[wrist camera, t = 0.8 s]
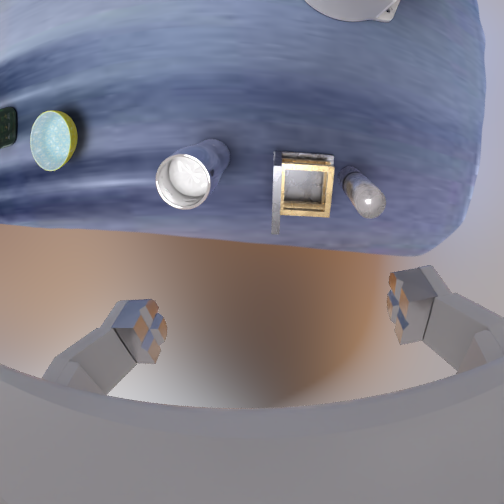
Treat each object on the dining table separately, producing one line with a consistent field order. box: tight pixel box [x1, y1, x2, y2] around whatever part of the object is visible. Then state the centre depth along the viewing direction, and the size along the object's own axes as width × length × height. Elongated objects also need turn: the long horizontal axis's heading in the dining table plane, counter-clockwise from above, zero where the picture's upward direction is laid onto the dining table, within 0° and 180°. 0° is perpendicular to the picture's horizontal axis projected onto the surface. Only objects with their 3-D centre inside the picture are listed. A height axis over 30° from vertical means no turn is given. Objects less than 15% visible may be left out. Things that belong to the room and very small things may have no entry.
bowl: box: [30, 111, 77, 171], centre depth 39 cm, size 11×12×6 cm
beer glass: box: [156, 139, 230, 210], centre depth 36 cm, size 7×7×15 cm
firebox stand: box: [271, 151, 334, 234], centre depth 39 cm, size 9×9×11 cm
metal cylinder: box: [338, 166, 386, 218], centre depth 37 cm, size 4×4×12 cm
